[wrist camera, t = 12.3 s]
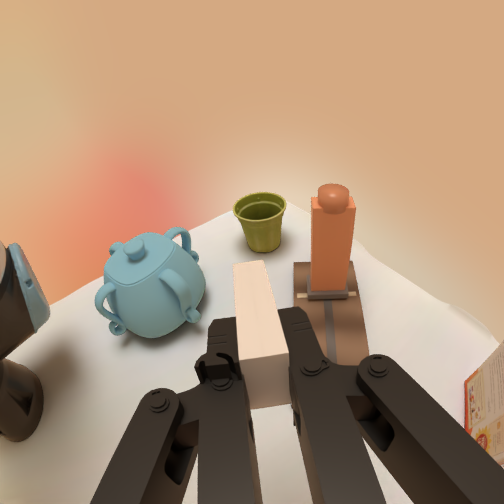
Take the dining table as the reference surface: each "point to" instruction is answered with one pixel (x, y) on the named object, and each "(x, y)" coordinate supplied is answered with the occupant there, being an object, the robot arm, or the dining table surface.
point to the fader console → (334, 318)
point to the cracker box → (487, 405)
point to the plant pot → (261, 219)
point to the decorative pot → (151, 284)
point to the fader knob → (330, 242)
